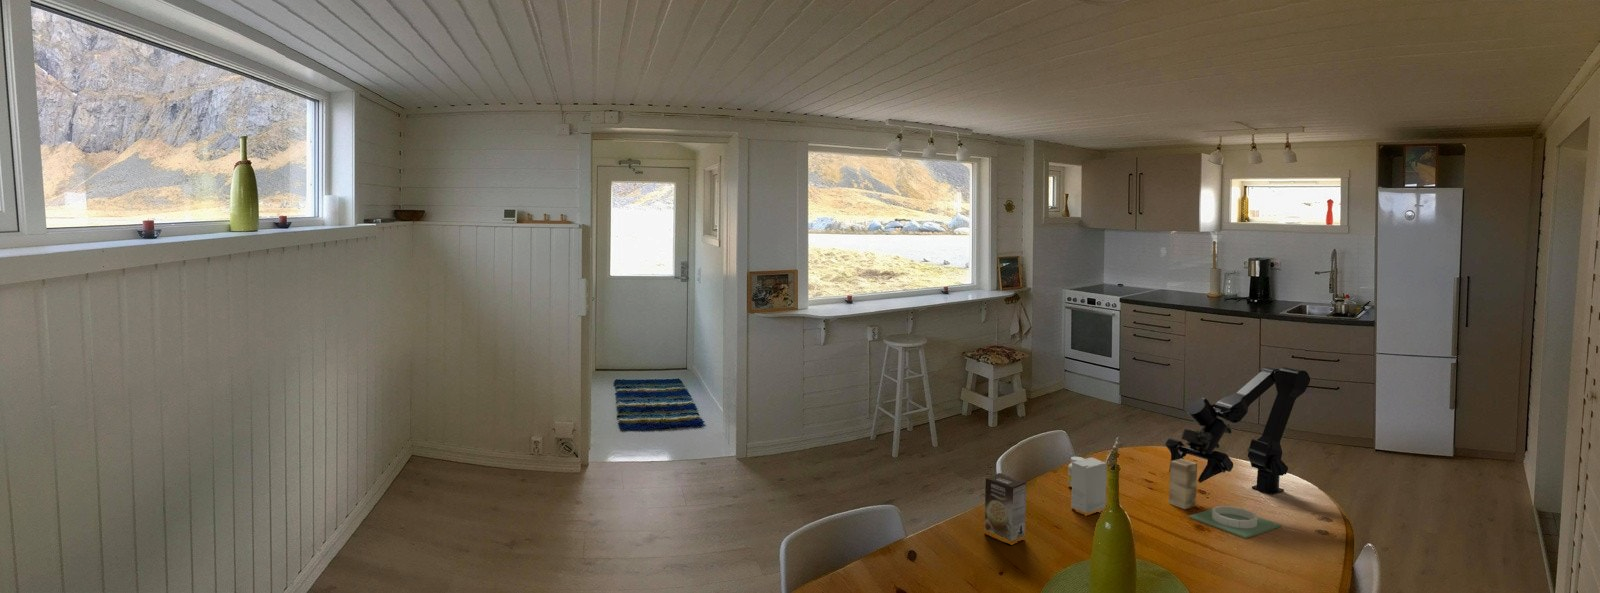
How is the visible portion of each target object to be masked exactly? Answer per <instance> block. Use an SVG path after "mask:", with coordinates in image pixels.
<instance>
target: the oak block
mask: <svg viewBox="0 0 1600 593" xmlns="http://www.w3.org/2000/svg"><path fill="white" fill-rule="evenodd" d="M1170 462H1171V466H1170V465H1169V469H1170V472H1169V473H1170V475H1169V493H1168V494H1169V495H1168V497H1169V498H1168V504H1170V505H1171V506H1172V505H1173V506H1174V507H1177V508H1180V509H1183V510H1186V509H1190V508H1193V507H1196V504H1197V503H1196V502H1197V482H1198V478H1197V477H1198V462H1194V461H1191V460H1188V459H1185V458H1184V459H1178V460H1174V461H1171V460H1170Z"/></svg>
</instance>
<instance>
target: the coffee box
mask: <svg viewBox="0 0 1600 593" xmlns="http://www.w3.org/2000/svg"><path fill="white" fill-rule="evenodd" d="M984 490H985V493H984V494H985V496H984V500H985V501H984V530H985V529H986V530H989V531H990V532H992V533H995V534H997V535H999V536H1001V537H1004V538H1006V539H1008V540H1010V541H1013V540H1015V539H1018V538H1020V537H1023V536H1026V510H1027V508H1026V507H1027V506H1026V504H1027V502H1026V501H1027V499H1026V498H1027V482H1026V481H1024V480H1021V479H1019V478H1015V477H1012V476H1009V475H1007V474H1004V473H1001V472H997V473H996V474H993V475H990V476H988V477H986V478H985V489H984Z"/></svg>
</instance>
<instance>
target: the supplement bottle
mask: <svg viewBox="0 0 1600 593" xmlns="http://www.w3.org/2000/svg"><path fill="white" fill-rule="evenodd" d="M1084 459H1085V458H1084V457H1081V456H1071V457H1070V463H1069V464H1068V468H1067V469H1068V470H1067V485H1068V484H1069V485H1071V486H1072V462H1076V461H1080V460H1084Z"/></svg>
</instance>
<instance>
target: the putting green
mask: <svg viewBox="0 0 1600 593" xmlns="http://www.w3.org/2000/svg"><path fill="white" fill-rule="evenodd" d="M1188 518H1189V519H1192V520H1194V521H1197V522H1200V523H1203V524H1205V525H1209V526H1211V527H1214V528H1216V529H1219V530H1220V531H1221V530H1222V531H1225V532H1226V533H1230V534H1233V535H1235V536H1237V537H1240V538H1242V539H1248V538H1252V537H1254V536H1257V535H1260V534H1263V533H1266V532H1268V531H1269V532H1270V531H1272V530H1275V529H1278V528H1280V527H1282V524H1280V523H1277V522H1274V521H1271V520H1268V519H1264V518H1262V517H1260V516H1258V515H1257V514H1256V513H1254V512H1253V511H1252V510H1248V509H1246V508H1243V507H1238V506H1232V505H1217V506H1214V507H1212V508H1210V509H1207V510H1204V511H1201V512H1196V513H1194V514H1190V515H1188Z"/></svg>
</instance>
